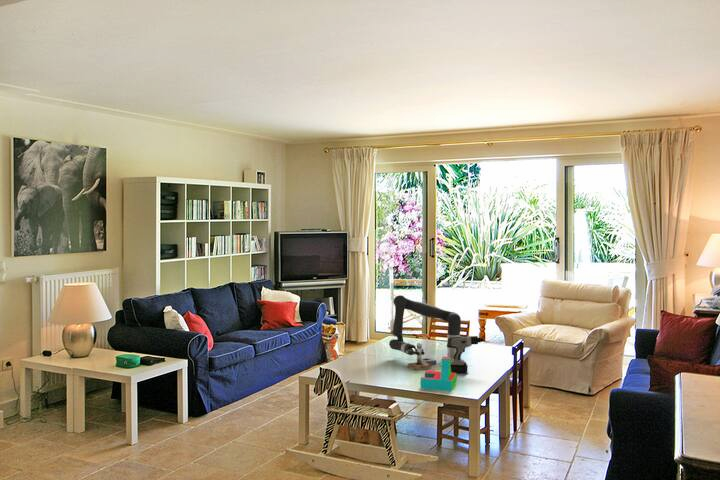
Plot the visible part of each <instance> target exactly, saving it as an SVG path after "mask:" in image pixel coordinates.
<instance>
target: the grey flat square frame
mask: <svg viewBox="0 0 720 480" xmlns="http://www.w3.org/2000/svg"><path fill="white" fill-rule="evenodd" d="M422 362H425V363H428V364H430V365H437V359H434V358H431V357H422Z"/></svg>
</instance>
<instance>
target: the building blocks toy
mask: <svg viewBox="0 0 720 480" xmlns="http://www.w3.org/2000/svg"><path fill="white" fill-rule="evenodd" d="M451 361H452V358H451V357H447V356H442V357H441V369H440V371H436V370H434V371H433V370H426V371H424V377H423V376H421V377H420V389H422V388H423V389H424V390H437V391H445V392H446V391H447V392H452V391H453V390H454V389H455V388H454V387H455V385H456V384H457V373H451V367H450V365H451Z"/></svg>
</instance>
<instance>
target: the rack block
mask: <svg viewBox="0 0 720 480" xmlns="http://www.w3.org/2000/svg"><path fill="white" fill-rule="evenodd" d="M431 365H432V364H428V363H425V362H421V365H417V361H416V362H408V363H407V367H408V368H409V369H412V370H413V371H414V370H415V371H419V370H426V369H427V370H428V369H431Z"/></svg>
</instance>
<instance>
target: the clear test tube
mask: <svg viewBox="0 0 720 480" xmlns="http://www.w3.org/2000/svg"><path fill="white" fill-rule="evenodd" d="M422 343H423V342H416V348H417V352H420V355H416V362H417V365H421V362H422V358H423V355H422V349H423V345H422Z"/></svg>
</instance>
